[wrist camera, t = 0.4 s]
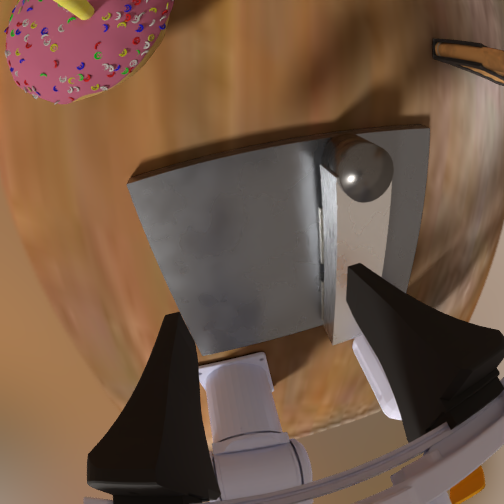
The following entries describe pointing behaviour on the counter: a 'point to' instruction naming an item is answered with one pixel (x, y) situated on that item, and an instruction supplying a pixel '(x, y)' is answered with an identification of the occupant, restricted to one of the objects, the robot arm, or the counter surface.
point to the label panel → (265, 232)
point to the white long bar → (352, 221)
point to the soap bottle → (390, 408)
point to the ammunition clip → (471, 58)
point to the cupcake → (81, 44)
